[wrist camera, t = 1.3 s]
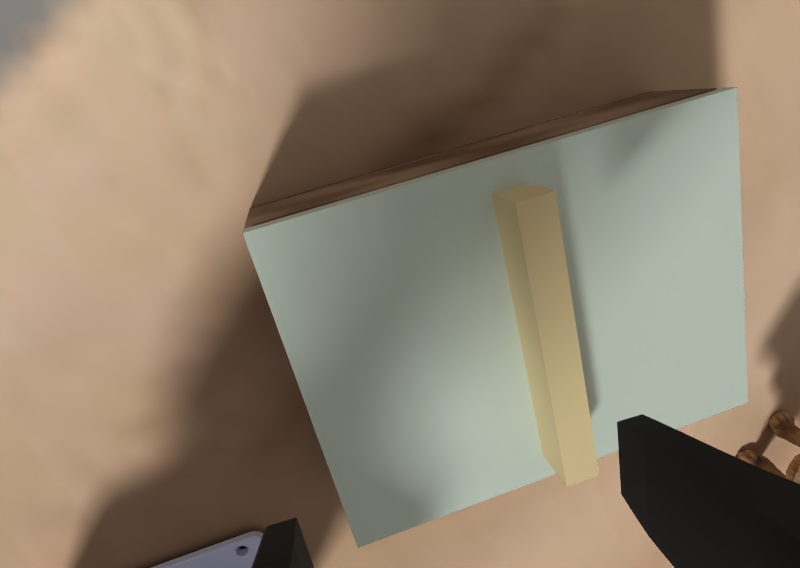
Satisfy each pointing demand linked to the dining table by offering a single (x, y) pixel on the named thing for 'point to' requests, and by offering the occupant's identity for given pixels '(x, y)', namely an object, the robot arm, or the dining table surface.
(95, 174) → the dining table surface
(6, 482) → the dining table surface
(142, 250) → the dining table surface
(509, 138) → the box
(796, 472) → the lion figurine
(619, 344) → the lid
